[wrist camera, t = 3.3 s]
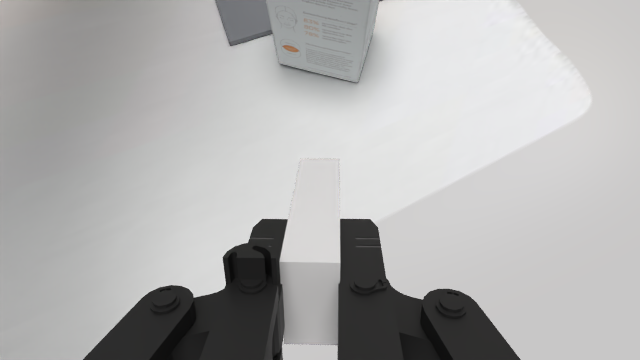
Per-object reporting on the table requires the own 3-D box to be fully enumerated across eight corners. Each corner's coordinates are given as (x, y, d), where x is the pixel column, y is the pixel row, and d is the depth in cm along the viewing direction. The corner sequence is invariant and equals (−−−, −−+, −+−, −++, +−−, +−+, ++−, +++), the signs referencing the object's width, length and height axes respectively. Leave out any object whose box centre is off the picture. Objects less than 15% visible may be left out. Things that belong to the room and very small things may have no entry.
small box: (374, 28, 42) (396, -87, 30) (358, 84, 40) (374, -12, 28) (295, 9, 43) (283, -111, 30) (276, 64, 41) (255, -39, 29)
